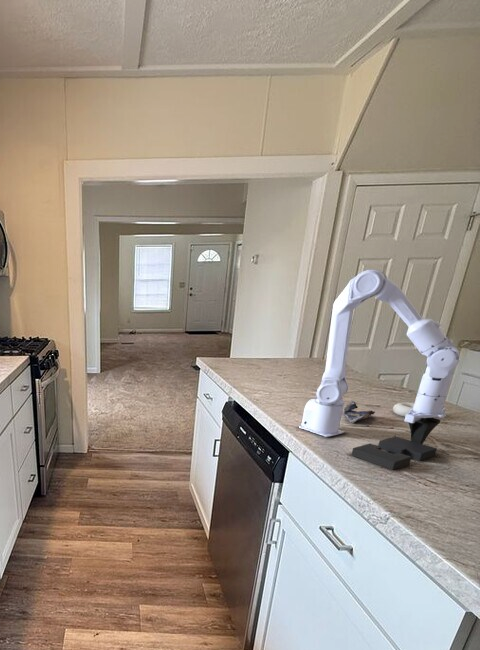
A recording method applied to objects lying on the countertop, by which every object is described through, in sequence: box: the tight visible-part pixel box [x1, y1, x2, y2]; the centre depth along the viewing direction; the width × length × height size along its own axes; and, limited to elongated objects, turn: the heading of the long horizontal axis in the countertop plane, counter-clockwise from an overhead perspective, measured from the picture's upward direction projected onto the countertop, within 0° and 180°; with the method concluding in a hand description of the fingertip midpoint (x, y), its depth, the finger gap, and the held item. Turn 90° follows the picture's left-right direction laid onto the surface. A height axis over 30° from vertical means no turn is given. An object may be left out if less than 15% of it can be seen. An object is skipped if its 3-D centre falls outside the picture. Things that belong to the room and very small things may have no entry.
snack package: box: [343, 401, 376, 424], centre depth 129 cm, size 12×6×12 cm
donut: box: [392, 401, 415, 418], centre depth 132 cm, size 10×4×10 cm
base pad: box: [351, 443, 412, 471], centre depth 100 cm, size 10×7×2 cm
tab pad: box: [377, 435, 438, 462], centre depth 104 cm, size 10×9×2 cm
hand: (416, 444), depth 106 cm, fingers closed
